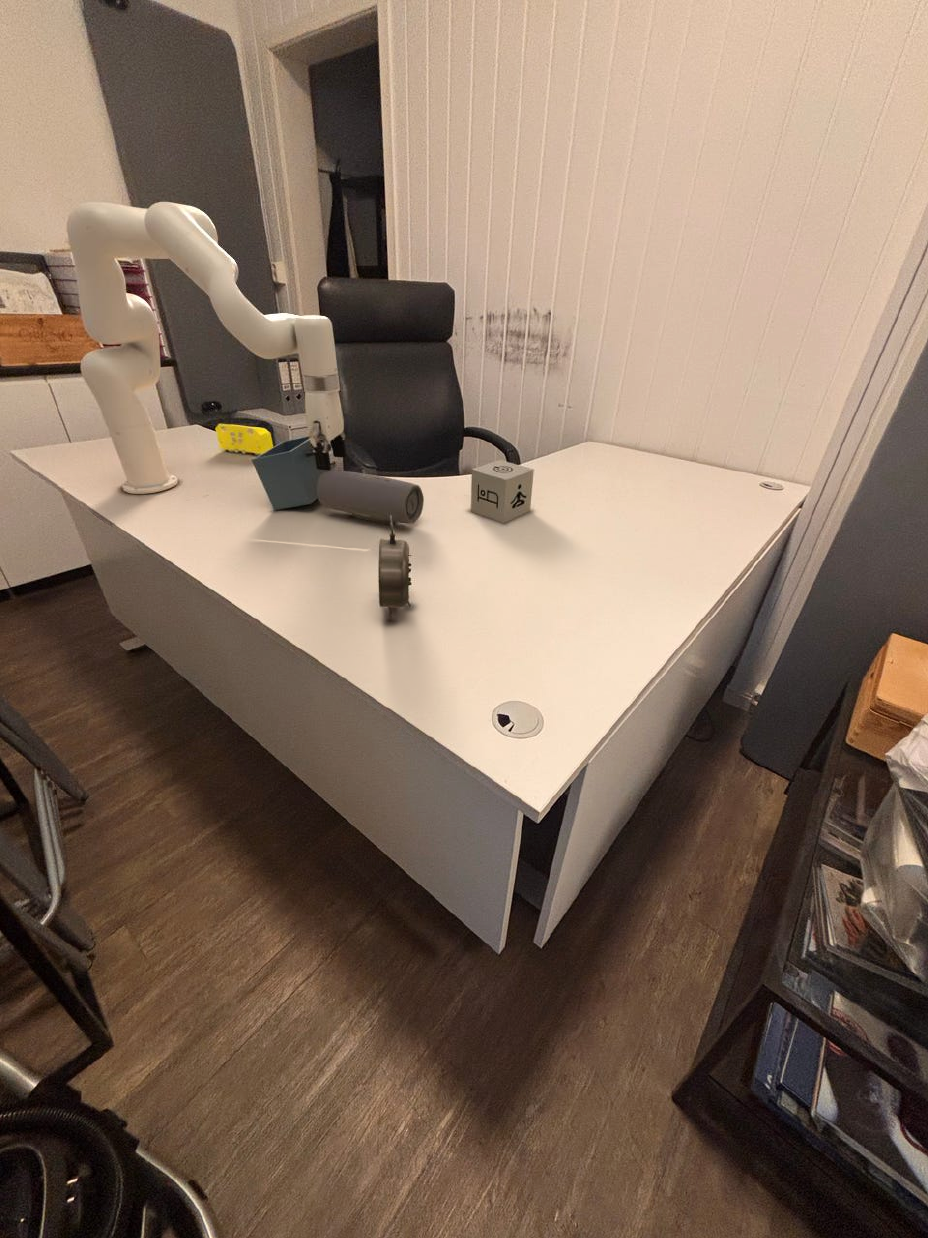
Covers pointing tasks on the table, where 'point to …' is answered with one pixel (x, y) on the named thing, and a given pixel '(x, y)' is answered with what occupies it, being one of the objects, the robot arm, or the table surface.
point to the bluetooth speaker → (370, 496)
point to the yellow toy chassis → (244, 438)
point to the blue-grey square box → (289, 473)
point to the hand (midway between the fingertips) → (332, 463)
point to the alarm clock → (393, 572)
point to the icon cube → (501, 490)
